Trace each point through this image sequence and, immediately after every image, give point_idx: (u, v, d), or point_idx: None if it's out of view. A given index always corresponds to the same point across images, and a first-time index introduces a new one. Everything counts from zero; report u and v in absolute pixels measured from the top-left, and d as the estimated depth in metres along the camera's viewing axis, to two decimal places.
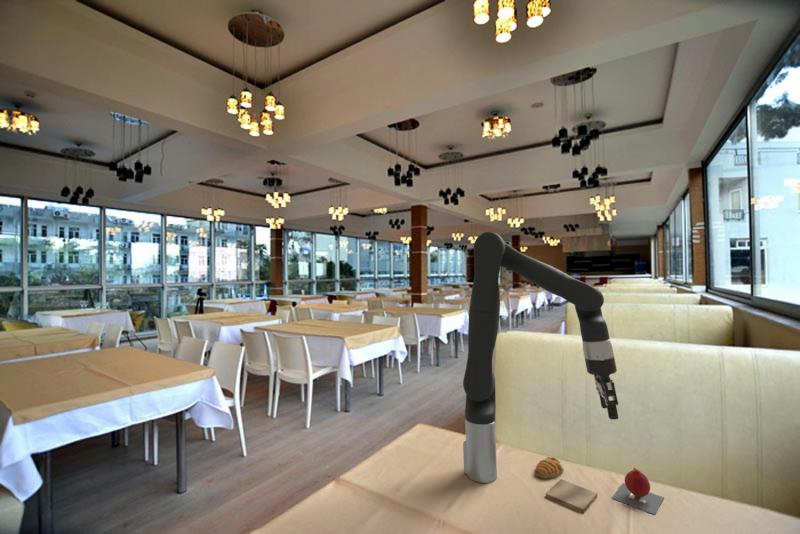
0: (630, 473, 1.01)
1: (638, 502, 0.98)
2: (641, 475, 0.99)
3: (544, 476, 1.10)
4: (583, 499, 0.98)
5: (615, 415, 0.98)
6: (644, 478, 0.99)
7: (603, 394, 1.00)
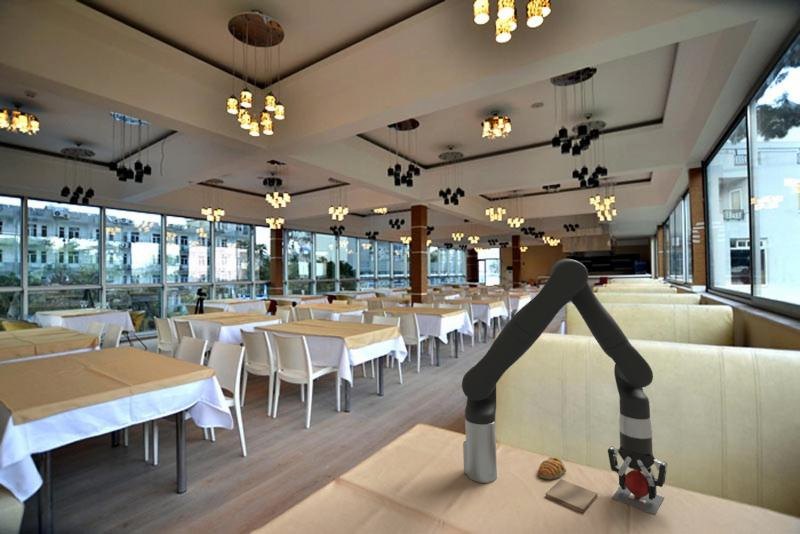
0: (630, 473, 1.01)
1: (638, 502, 0.98)
2: (641, 475, 0.99)
3: (547, 477, 1.10)
4: (583, 499, 0.98)
5: (656, 494, 0.97)
6: (644, 478, 0.99)
7: (649, 475, 0.97)
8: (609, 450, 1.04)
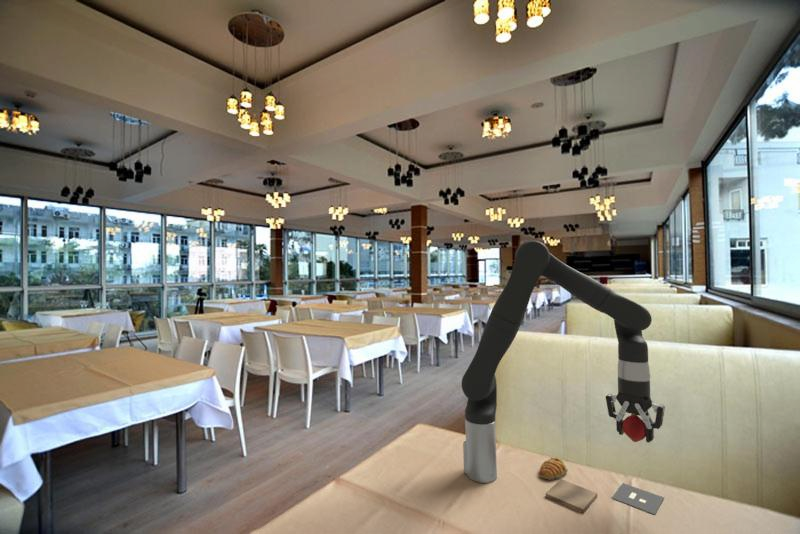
0: (628, 418, 1.01)
1: (638, 502, 0.98)
2: (638, 419, 0.99)
3: (549, 477, 1.09)
4: (583, 499, 0.98)
5: (653, 437, 0.98)
6: (641, 422, 0.99)
7: (647, 418, 0.97)
8: (607, 396, 1.05)
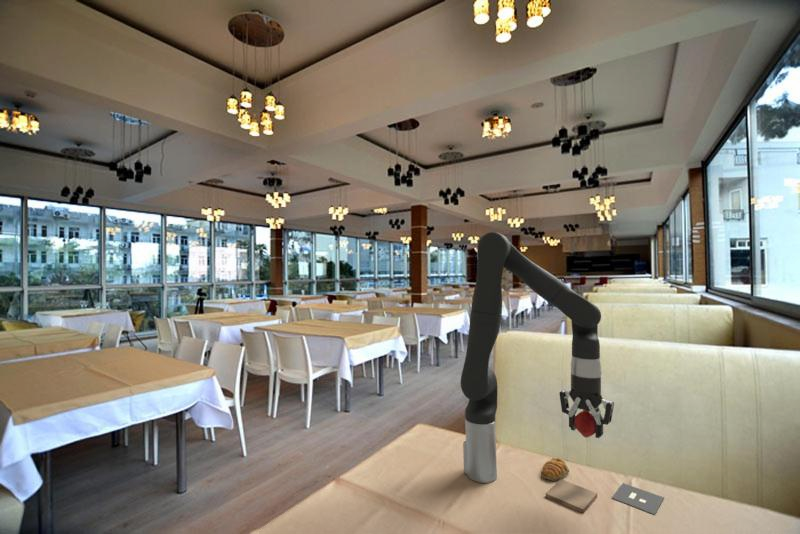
0: (579, 414, 1.02)
1: (638, 502, 0.98)
2: (589, 415, 1.01)
3: (551, 478, 1.09)
4: (583, 499, 0.98)
5: (602, 433, 0.99)
6: (592, 418, 1.00)
7: (596, 414, 0.99)
8: (561, 393, 1.06)
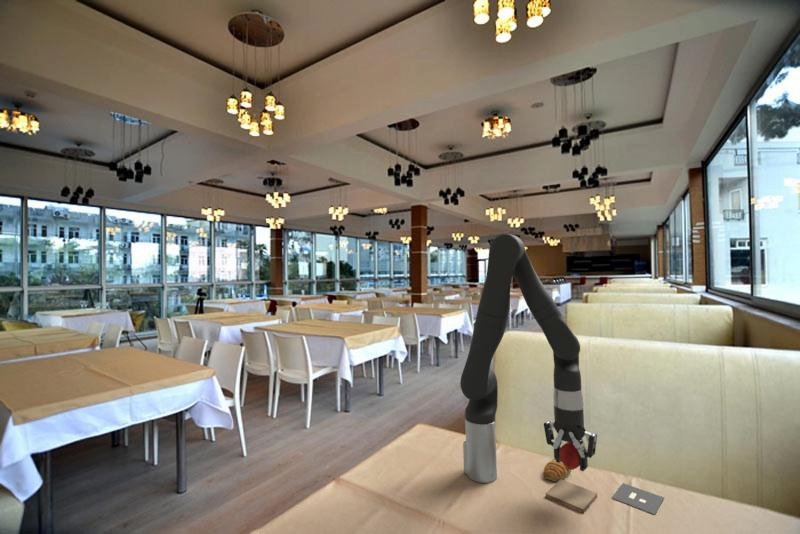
0: (563, 446, 1.02)
1: (638, 502, 0.98)
2: (573, 448, 1.00)
3: (553, 478, 1.09)
4: (583, 499, 0.98)
5: (587, 466, 0.99)
6: (576, 450, 1.00)
7: (580, 446, 0.98)
8: (545, 424, 1.05)
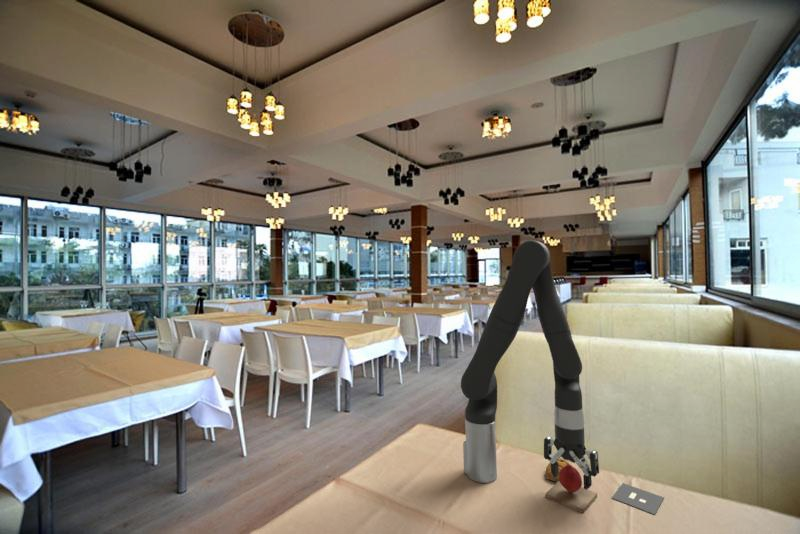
0: (563, 468, 1.02)
1: (638, 502, 0.98)
2: (572, 470, 1.00)
3: (556, 479, 1.08)
4: (583, 499, 0.98)
5: (590, 484, 0.98)
6: (575, 472, 1.00)
7: (582, 464, 0.98)
8: (545, 439, 1.05)
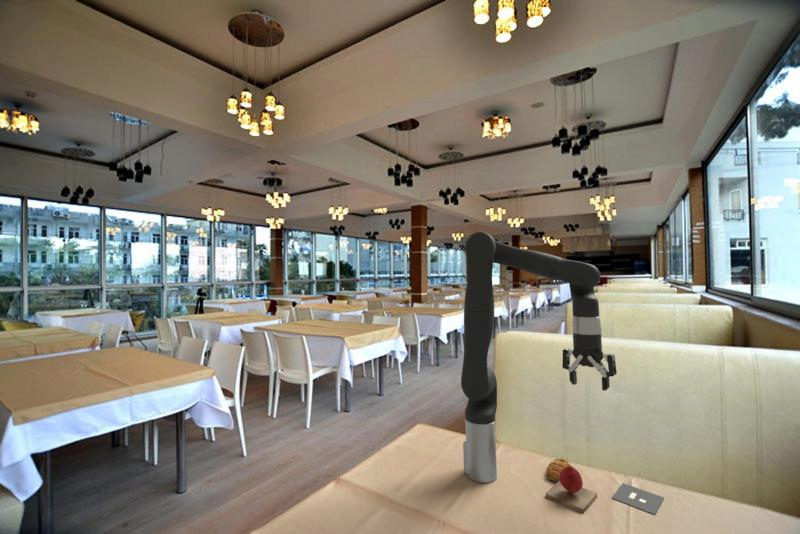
0: (564, 469, 1.02)
1: (638, 502, 0.98)
2: (573, 471, 1.00)
3: (557, 479, 1.08)
4: (583, 499, 0.98)
5: (608, 385, 1.04)
6: (576, 474, 1.00)
7: (600, 367, 1.04)
8: (564, 350, 1.11)
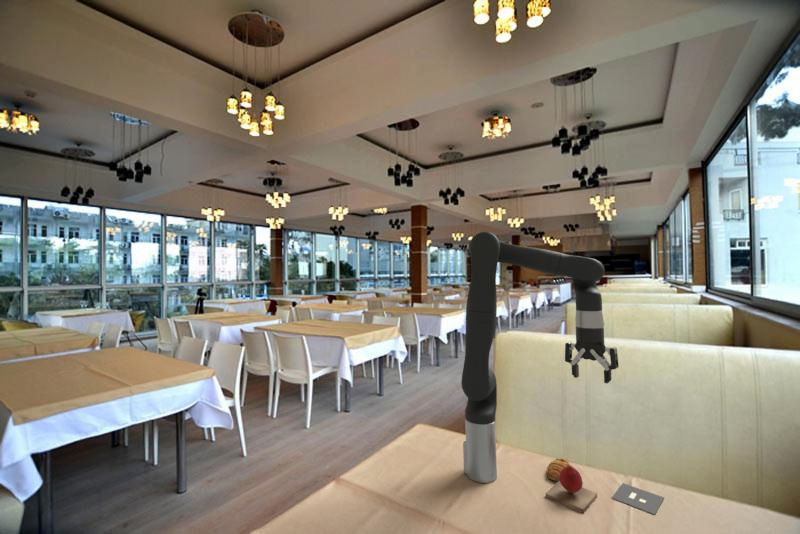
0: (564, 469, 1.02)
1: (638, 502, 0.98)
2: (573, 471, 1.00)
3: (557, 479, 1.08)
4: (583, 499, 0.98)
5: (610, 378, 1.05)
6: (576, 474, 1.00)
7: (603, 360, 1.05)
8: (567, 344, 1.13)
